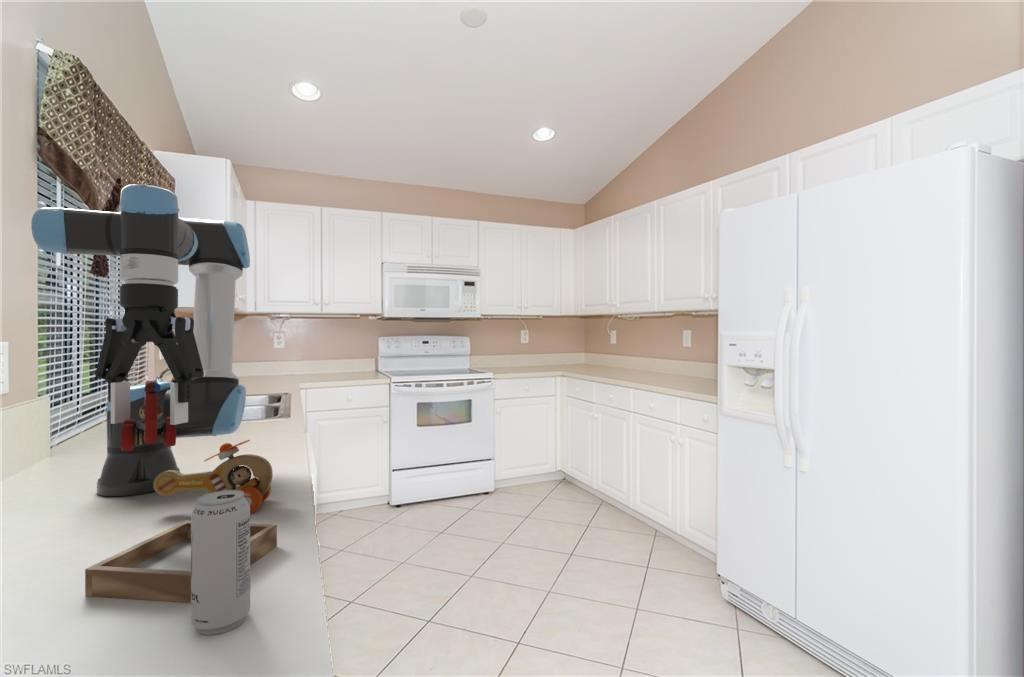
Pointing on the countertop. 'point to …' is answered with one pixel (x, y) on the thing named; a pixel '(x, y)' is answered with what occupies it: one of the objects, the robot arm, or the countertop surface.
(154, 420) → the toy fire truck
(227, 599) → the energy drink can
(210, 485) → the toy helicopter
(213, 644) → the countertop surface
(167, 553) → the brown wooden tray
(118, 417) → the robot arm
